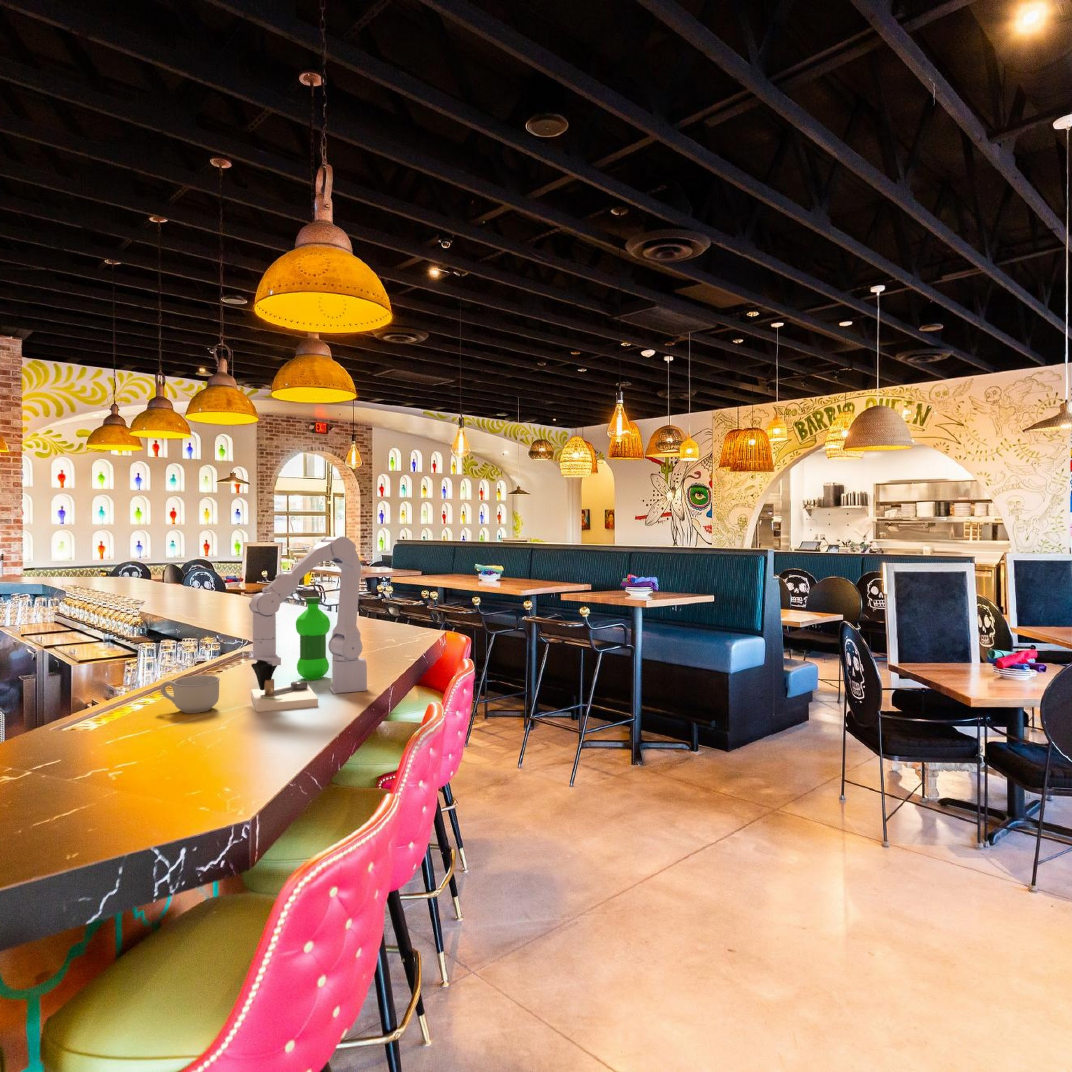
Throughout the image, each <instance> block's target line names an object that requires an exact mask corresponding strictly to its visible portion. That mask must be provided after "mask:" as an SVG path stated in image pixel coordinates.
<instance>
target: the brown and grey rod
mask: <svg viewBox="0 0 1072 1072" xmlns="http://www.w3.org/2000/svg"><path fill="white" fill-rule="evenodd" d="M308 685H309V683H308V680H307V681H306V680H296V681H292V682H290V686H291V687H288V686H285V687H286V688H282V689H278V690H274V688H275V678H271V679H266V680H265V695H261V697H262V696H272V695H274V694H278V693H283V692H287V691H291V690H302V689H306V688H308Z"/></svg>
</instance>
